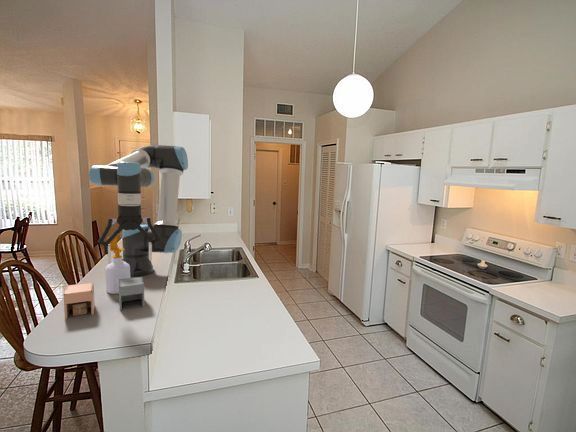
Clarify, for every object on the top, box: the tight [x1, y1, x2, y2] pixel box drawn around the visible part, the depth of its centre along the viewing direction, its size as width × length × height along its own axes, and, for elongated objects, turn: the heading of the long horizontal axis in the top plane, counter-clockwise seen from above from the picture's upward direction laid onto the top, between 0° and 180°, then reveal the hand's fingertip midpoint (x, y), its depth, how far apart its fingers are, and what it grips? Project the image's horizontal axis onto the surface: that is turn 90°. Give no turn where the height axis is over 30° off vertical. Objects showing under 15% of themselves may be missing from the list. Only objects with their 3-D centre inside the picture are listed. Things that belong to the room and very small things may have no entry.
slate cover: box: [118, 276, 145, 311], centre depth 117 cm, size 8×8×9 cm
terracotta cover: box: [63, 282, 96, 320], centre depth 108 cm, size 8×8×9 cm
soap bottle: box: [104, 232, 131, 295], centre depth 128 cm, size 9×9×25 cm
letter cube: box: [72, 301, 89, 317], centre depth 109 cm, size 4×4×4 cm
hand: (130, 261), depth 115 cm, fingers open, 13 cm apart
